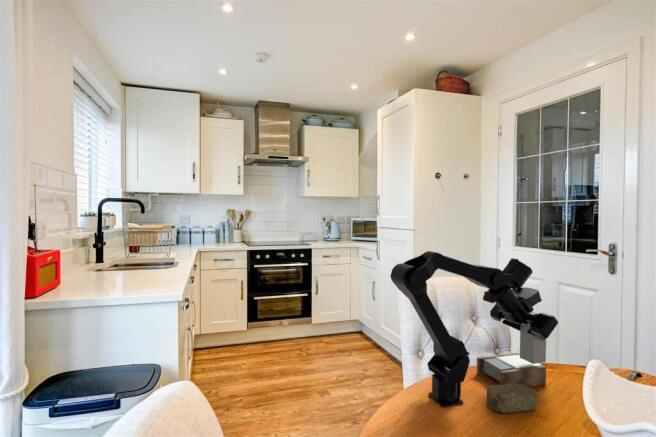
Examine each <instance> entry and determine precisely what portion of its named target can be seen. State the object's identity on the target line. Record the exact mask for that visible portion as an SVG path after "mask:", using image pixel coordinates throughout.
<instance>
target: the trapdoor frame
mask: <svg viewBox="0 0 656 437" xmlns="http://www.w3.org/2000/svg"><path fill="white" fill-rule="evenodd" d="M512 355H520V352H519V353H518V352H514V353H513V352H512V353H505V354H495V355H488V356H479V357H476V374H477V375H478V376H484V375H488V374H487V373H485V372H484V359H493V358H496V357H503V356H512ZM518 383H519V384H524V385H526V386H528V387H529V388H531V387H536V386H543V385H546V384H547V366H545V365H542V366H535V367H528V368H520V369H512V370H505V371H500V381H499V385H506V384H518Z"/></svg>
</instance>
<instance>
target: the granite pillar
mask: <svg viewBox="0 0 656 437" xmlns="http://www.w3.org/2000/svg"><path fill="white" fill-rule="evenodd" d="M530 314H532V315H534V314H539V313H537V312H534V311H532V312H530ZM529 329H530V324H529V323H528V325H524V324H521V325H520V331H519V333H520V334H519V354H520V358H522V359H524V360H526V361H528V362H530V363H532V364H536V363H539V364H541V363H546V361H547V358H546V356H547V338H546V339H545V340H544V341H543V340H541V339H539V338H537V337H535V336H533V335H531V334H529V333H527V332H528V330H529Z"/></svg>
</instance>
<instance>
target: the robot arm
mask: <svg viewBox="0 0 656 437" xmlns="http://www.w3.org/2000/svg"><path fill="white" fill-rule="evenodd" d="M437 270H442V271H444V272H448V273H451V274H453V275H457V276H460V277H462V278H463V277H464V278H465V279H467V280H468V281H469V282H471V283H473V284H474V285H476V286H478V287H482V288H487V291H484V292H483V293H484V294H483V297H482V300H483V301H484V302H487V303H490V304H494V303H495V304H494V306H493V307H492V308H491V309H490V311H489V315H490V317H491V318H492V320H494V321H497V322H499V323H500V322H501V321H502V324H503V325H506V326H508V327H511V328H512V329H514V330H517V331H519V332H520V325H521V324H524V325H528V323H529V324H530V329H529V330H528V332H527V333H529V334H531V335H533V336H535V337H537V338H539V339H541V340H543V341H544V340H545V339H546V340H547V339H548V338H549V337H550V335H551V334H552V333H553V331H554V330H555V328H556V327H557V326H558V324H559V321H558V320H557V318H556V317H555V315H551V314H548V313H546V312H539V313H538V314H534V315H532V314H530V312H534V310H535V309H534V306H536V305H537V304H538V303H541V302H542V296H541V294H540V291H539V290H538V289H535V288H532V287H524V285H525V284H526V282H527V280H529V278H531V276H532V274H533V270H532V268H531V267H530V266H529V265H527V264H526V263H524V262H522V261H520V260H519V259H518V258H510V259H509V261H508V263H507V264H506V266H505V267H504V268H503V269H501V268H497V267H490V266H487V265H486V266H485V265H482V264H481V265H480V264H471V263H468V262H465V261H461V260H459V259H455V258H453V257H450V256H446V255H443V254H442V253H441V252H436V251H431V250H427V251H425V252H423V253H422V254H421V255H418V256H415V257H413V258H410V259H408V260H406V261H404V262H403V263H398V264H395V265H394V266H393V267H392V270H391V273H390V279H391V282H392V283H393V284H394V285H395V287H396V288H397V289H398V290H399V291H400V292H401V293H402V294H403V295H404V296H405V297H406V298H408V300H409V301H410V303H411V305H412V307H413V308H414V311H415V312H416V314H417V315H418V317H419V319H420V321H421V322H422V324H423V327H424V329H425V330H426V331H427V334H428V335H429V337H430V338H431V341H432V342H433V343H432V344H433V349H432V350H433V353H434V354H433V355H432V357H431V358H430V360H429V361H428V362H427V364H426V365H427V367H428V371H430V372H431V373H433V374H431V375H432V376H431V380H432V381H431V392H428V396H429V397H430V398H431V399H433V400H434V401H435V403H436V404H438V405H439V406H440V407H443V408H445V407H450V406H456V405H463V404H464V401H463V399H461V397H462V396H461V395H462V390H461V389H462V383H464V382H465V380H466V379H465V378H466V376H467V372H468V369H469V366H470V363H471V360H470V356H469V355H471V354H470V352H469V351H468V350H467V348H466V345H465V343H464V342H463V341H462V340H461V339H458V338H456V337H455V336H452V335H450V333H449V331H448V330H447V328H446V325H445V324H444V322H443V320H442V319H441V317H440V315H439V313H438V311H437V309H436V307H435V305H434V304H433V302H432V300H431V298H430V296H429V294H428V283H427V281H428V280H430V279H431V278H432V277H433V276H434V274H435V273H436V271H437Z"/></svg>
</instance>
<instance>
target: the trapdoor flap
mask: <svg viewBox="0 0 656 437" xmlns="http://www.w3.org/2000/svg"><path fill="white" fill-rule="evenodd" d="M535 366H543V364H541V363H536V364H532V363H530V362H528V361H526V360H524V359H522V358H520V355H512V356H503V357H496V358H493V359H484V372H485V373H487V374H486V375H489V376H490V377H491V378H493V379H495V380H496V381H498V382H500V371H505V370H512V369H520V368H528V367H535Z"/></svg>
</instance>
